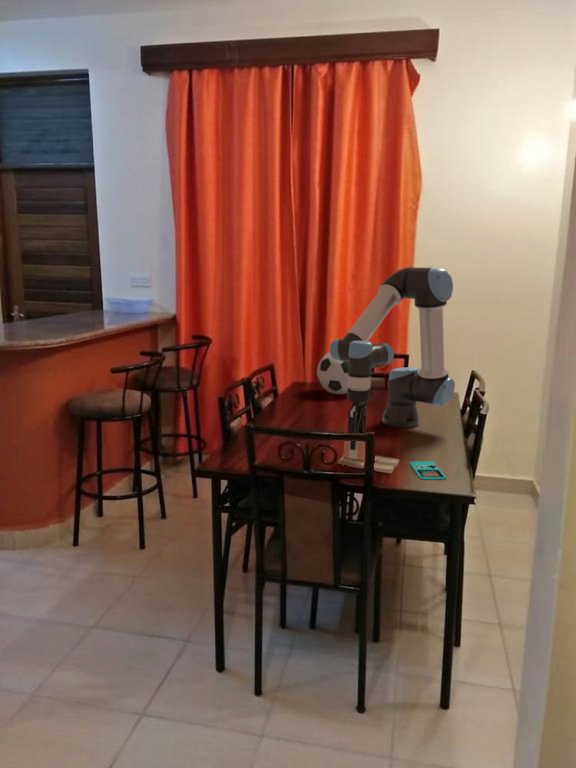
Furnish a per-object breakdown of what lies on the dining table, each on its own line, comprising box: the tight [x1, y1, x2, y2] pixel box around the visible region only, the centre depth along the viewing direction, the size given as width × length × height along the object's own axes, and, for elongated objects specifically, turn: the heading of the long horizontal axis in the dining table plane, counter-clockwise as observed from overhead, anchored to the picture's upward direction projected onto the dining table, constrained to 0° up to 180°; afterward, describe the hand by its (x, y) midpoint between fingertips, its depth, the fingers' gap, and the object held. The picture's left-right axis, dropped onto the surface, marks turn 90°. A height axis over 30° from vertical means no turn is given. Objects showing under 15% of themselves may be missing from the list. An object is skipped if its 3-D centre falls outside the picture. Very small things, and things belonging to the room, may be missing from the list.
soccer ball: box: [316, 351, 349, 395], centre depth 285 cm, size 22×22×22 cm
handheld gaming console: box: [409, 460, 447, 481], centre depth 187 cm, size 8×1×15 cm
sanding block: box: [342, 440, 365, 462], centre depth 193 cm, size 5×7×8 cm
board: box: [337, 454, 400, 475], centre depth 192 cm, size 11×18×1 cm, turn 65°
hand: (355, 455), depth 194 cm, fingers closed on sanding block, 5 cm apart
